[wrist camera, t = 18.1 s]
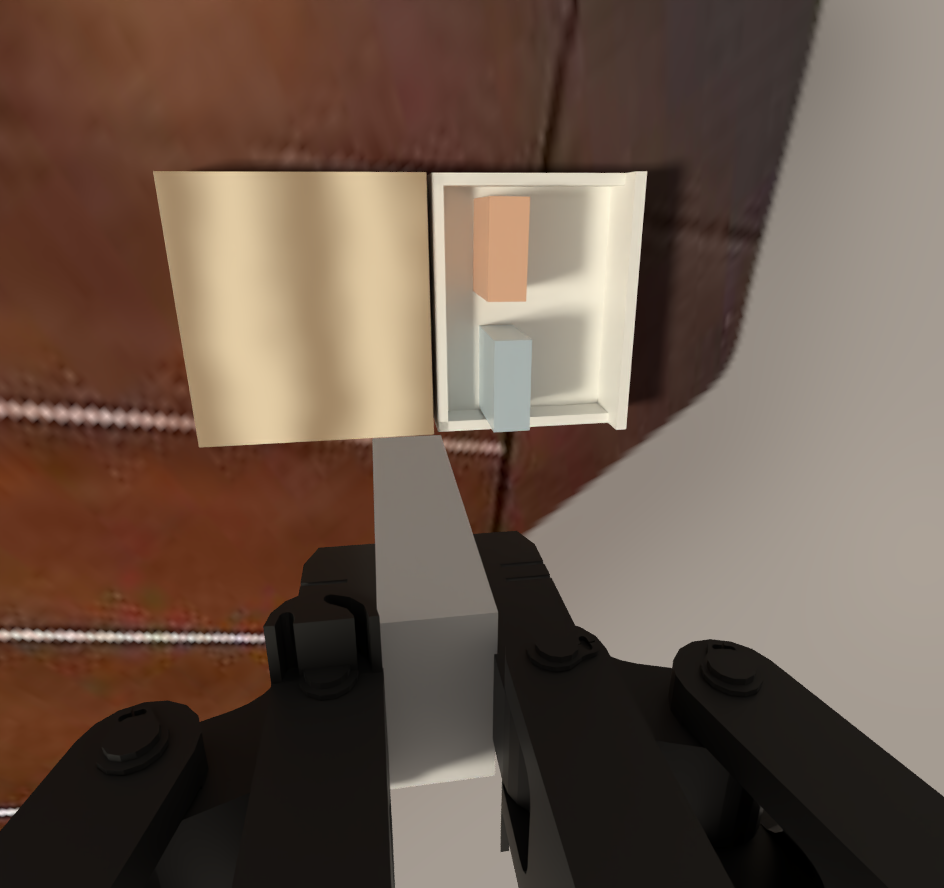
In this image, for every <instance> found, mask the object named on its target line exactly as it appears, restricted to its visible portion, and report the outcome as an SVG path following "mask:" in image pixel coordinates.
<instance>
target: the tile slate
mask: <svg viewBox="0 0 944 888" xmlns="http://www.w3.org/2000/svg"><path fill="white" fill-rule="evenodd" d="M531 363H532V339H530V338H529V337H528V336H527V335H525V334H524V333H523V332H521V331H520V330H519V329H517V328H516V327H515V326H514V325H512V324H508V325H479V407H480V409H481V411H482V412H483V414H484V416H485V418H486V419H487V421H488V423H489V425H490V426H491V428H492V430H493V432H506V431H525V430H530V396H531Z"/></svg>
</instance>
